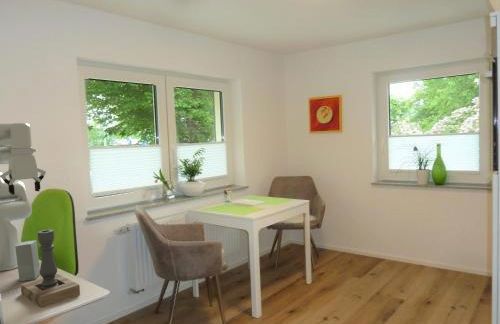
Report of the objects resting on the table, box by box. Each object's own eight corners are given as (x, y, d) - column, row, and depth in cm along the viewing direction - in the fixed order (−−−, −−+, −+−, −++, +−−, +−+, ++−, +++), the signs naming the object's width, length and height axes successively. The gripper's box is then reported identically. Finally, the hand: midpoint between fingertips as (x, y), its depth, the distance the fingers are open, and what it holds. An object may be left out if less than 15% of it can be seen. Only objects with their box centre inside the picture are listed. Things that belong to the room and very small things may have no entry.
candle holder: (51, 298, 146) (47, 233, 145) (37, 297, 148) (32, 233, 146) (62, 291, 152) (58, 229, 151) (48, 290, 154) (44, 229, 152)
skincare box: (35, 280, 167) (32, 244, 165) (17, 282, 165) (14, 245, 164) (41, 273, 175) (38, 239, 174) (23, 275, 173) (21, 240, 172)
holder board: (21, 294, 151) (20, 284, 151) (58, 283, 162) (57, 273, 161) (41, 307, 138) (40, 296, 138) (80, 294, 149) (79, 284, 148)
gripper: (40, 151, 171) (43, 189, 173) (-5, 153, 158) (-1, 194, 160) (47, 151, 166) (50, 190, 168) (1, 153, 153) (5, 196, 155)
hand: (25, 192), depth 164 cm, fingers open, 9 cm apart
